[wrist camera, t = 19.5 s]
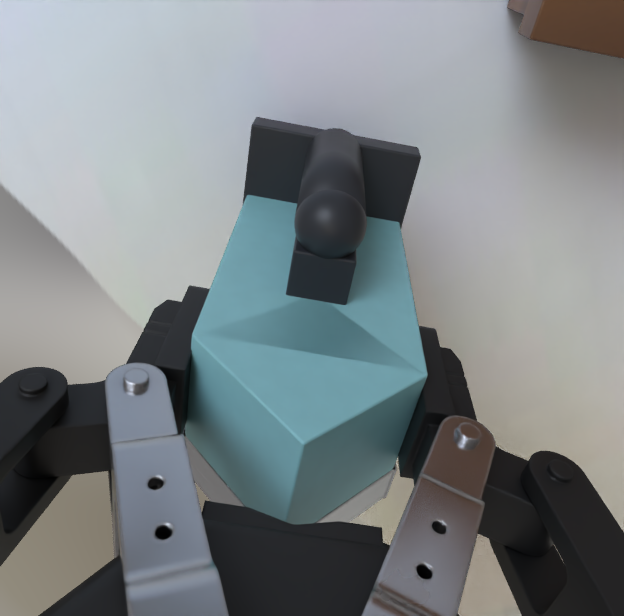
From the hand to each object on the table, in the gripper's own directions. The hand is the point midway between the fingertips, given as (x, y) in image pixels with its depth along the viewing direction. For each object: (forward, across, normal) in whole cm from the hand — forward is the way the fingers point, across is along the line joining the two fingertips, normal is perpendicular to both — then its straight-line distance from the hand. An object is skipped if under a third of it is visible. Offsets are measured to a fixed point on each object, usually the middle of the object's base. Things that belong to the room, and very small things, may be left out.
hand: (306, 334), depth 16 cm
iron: (0, 0, +3) cm, 3 cm away
